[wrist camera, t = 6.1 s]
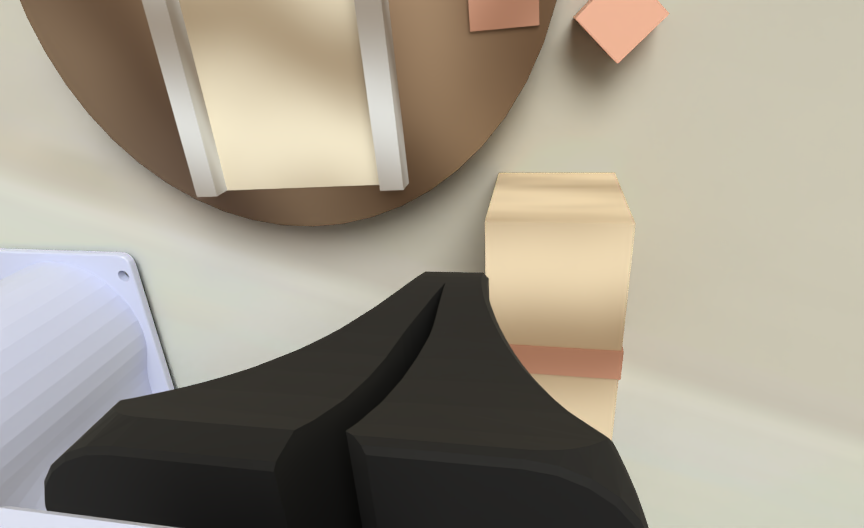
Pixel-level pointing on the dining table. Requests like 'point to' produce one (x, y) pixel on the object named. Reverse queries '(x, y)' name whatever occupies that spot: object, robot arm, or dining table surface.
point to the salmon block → (620, 23)
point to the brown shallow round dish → (296, 93)
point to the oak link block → (563, 283)
